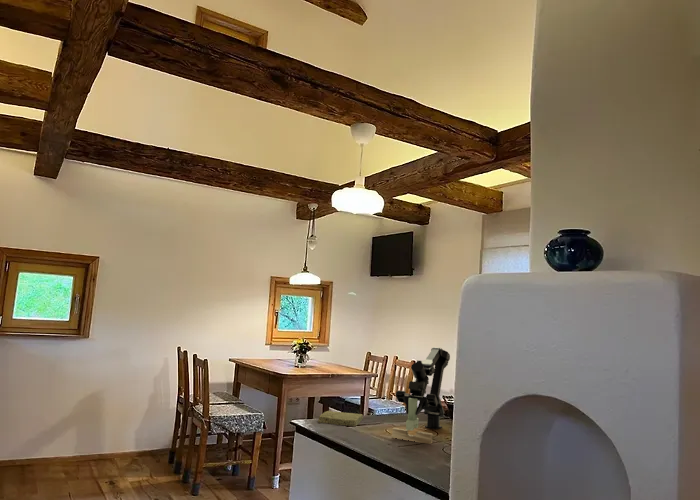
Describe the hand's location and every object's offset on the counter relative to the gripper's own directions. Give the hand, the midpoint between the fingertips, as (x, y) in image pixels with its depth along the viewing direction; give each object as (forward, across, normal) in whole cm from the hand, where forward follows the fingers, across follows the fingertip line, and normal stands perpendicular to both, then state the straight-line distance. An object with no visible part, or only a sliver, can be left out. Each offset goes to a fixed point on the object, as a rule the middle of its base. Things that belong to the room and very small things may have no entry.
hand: (411, 413), depth 237 cm
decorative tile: (-3, -44, +21) cm, 49 cm away
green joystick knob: (+4, 0, +6) cm, 7 cm away
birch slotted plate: (+7, 0, +9) cm, 12 cm away
